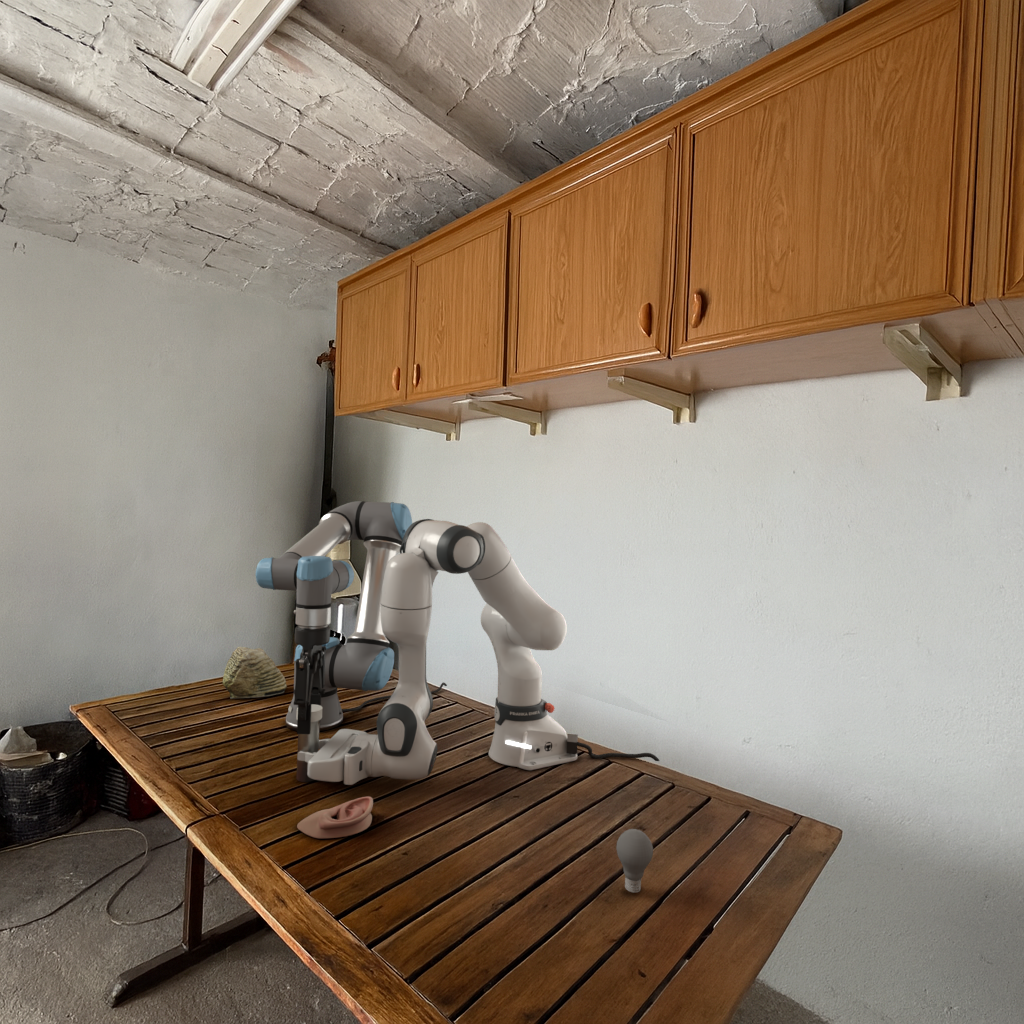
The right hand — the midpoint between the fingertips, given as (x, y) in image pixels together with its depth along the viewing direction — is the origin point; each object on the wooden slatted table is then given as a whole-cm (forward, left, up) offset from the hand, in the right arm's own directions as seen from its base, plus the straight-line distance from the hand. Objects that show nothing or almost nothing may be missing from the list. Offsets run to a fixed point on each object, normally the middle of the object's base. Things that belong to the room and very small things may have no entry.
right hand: (304, 749), depth 142 cm
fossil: (+12, -64, -6) cm, 65 cm away
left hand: (-1, 0, +5) cm, 5 cm away
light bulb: (-50, +58, -6) cm, 77 cm away
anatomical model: (-5, +23, -6) cm, 24 cm away
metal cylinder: (-1, 0, -6) cm, 6 cm away
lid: (-1, 0, +9) cm, 9 cm away
